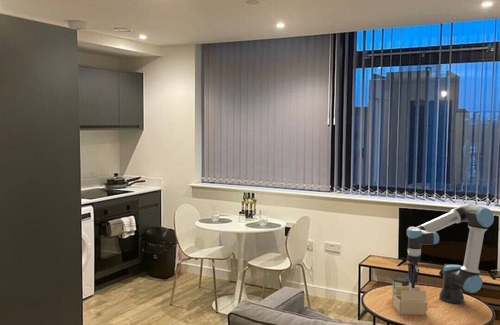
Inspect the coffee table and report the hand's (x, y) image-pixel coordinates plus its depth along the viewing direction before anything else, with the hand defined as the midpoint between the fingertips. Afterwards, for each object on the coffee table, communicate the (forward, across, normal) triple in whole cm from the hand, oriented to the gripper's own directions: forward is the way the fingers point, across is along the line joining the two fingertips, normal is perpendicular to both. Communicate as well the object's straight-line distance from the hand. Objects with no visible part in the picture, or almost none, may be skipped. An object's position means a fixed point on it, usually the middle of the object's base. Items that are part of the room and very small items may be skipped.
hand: (412, 292), depth 303 cm
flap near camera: (+1, +2, 0) cm, 2 cm away
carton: (+13, -3, 0) cm, 13 cm away
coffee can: (+13, -23, +1) cm, 26 cm away
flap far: (+1, -7, 0) cm, 8 cm away
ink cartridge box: (+13, -31, +8) cm, 34 cm away
